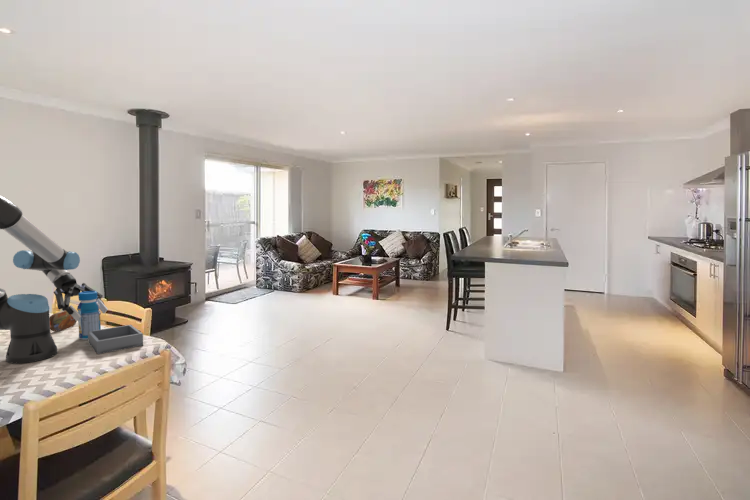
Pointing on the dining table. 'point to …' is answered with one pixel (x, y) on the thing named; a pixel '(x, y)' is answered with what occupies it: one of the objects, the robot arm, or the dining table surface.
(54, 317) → the tin
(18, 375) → the dining table surface
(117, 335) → the tray
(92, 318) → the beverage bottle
